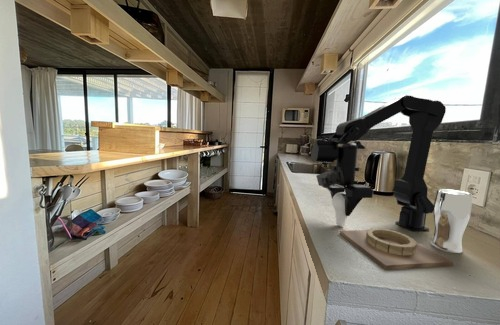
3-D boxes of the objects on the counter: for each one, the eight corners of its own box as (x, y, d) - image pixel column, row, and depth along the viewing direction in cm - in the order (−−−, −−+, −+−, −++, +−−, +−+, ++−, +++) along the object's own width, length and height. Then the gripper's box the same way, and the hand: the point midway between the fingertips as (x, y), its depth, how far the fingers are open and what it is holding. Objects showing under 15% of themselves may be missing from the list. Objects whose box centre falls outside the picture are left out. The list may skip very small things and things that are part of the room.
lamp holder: (391, 232, 64) (392, 222, 64) (452, 265, 48) (454, 253, 47) (339, 234, 62) (340, 224, 61) (385, 269, 45) (386, 256, 45)
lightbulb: (353, 231, 64) (356, 195, 63) (331, 228, 65) (334, 193, 64) (348, 223, 70) (351, 190, 69) (328, 221, 71) (331, 189, 70)
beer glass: (468, 257, 51) (478, 197, 50) (431, 248, 55) (439, 192, 53) (459, 246, 57) (468, 191, 56) (426, 238, 61) (433, 187, 59)
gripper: (308, 159, 73) (305, 203, 75) (338, 166, 55) (333, 224, 57) (338, 160, 75) (334, 203, 77) (377, 167, 57) (371, 223, 58)
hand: (341, 212), depth 67 cm, fingers open, 6 cm apart
